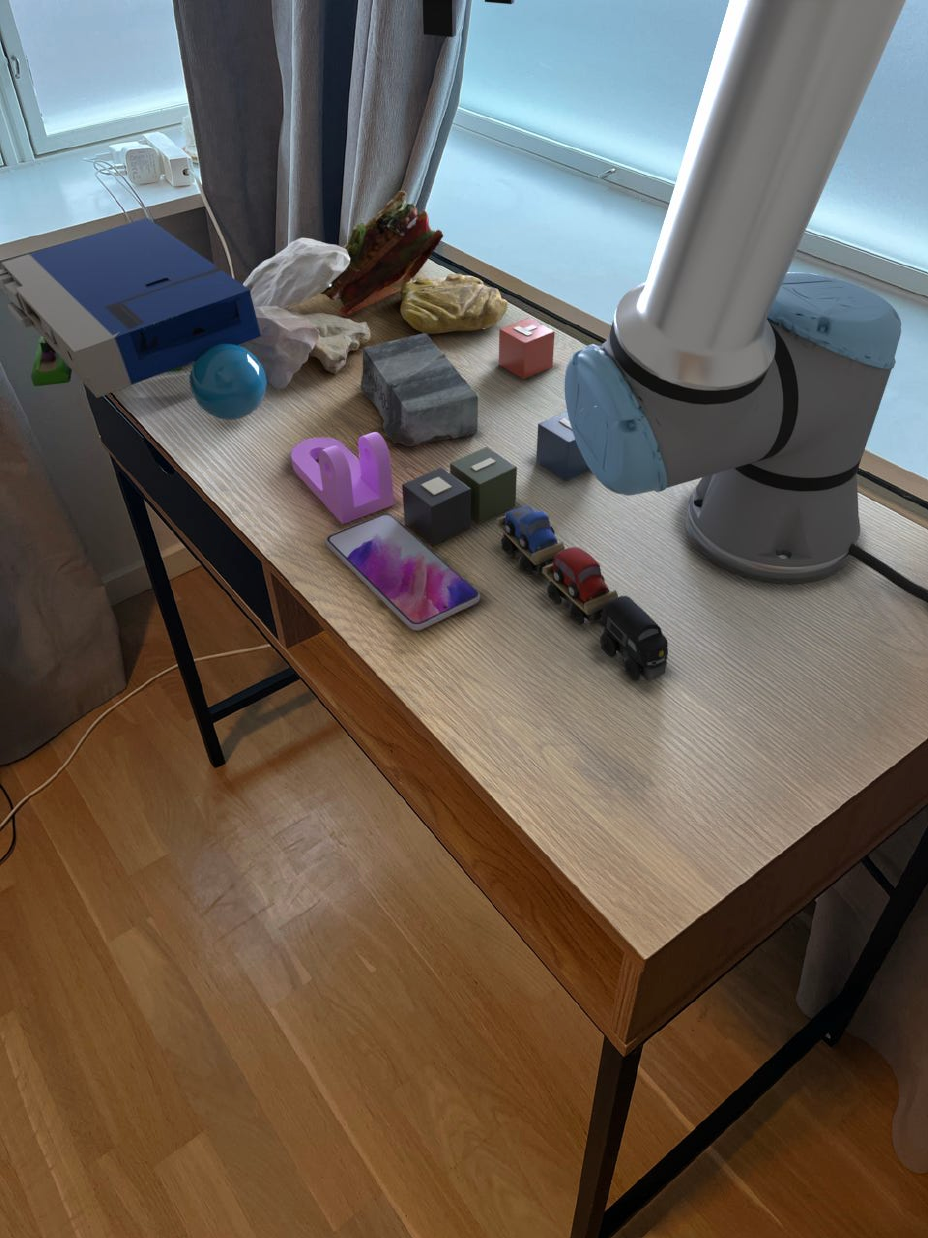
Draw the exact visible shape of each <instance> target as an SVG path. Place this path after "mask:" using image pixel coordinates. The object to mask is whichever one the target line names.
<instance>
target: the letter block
mask: <svg viewBox="0 0 928 1238" xmlns="http://www.w3.org/2000/svg"><path fill="white" fill-rule="evenodd" d="M498 329H499V330H498V333H499V334H498V365H499V366H501V367H502V368H504V369H506V370H508V371H509V372H511V373H513V375H516V376H518V377H519V378H521V379H522V380H525V379H527V378H529V377H532V376H534V375H537V374H539V373H542V372H545V371H547V370H549V369H551V368H553V366H554V365H553V364H554V349H555V334H556V333H555V331H554V330H553V329H551V328H550V327H547V326H545V325H544V324H542V323H540V322H538V321H536V320H535V319H533V318H531V317H527V318H524V319H521V320H519V321H515V322H513V323H511V324H508V325H505V326H503V327H500V328H498Z"/></svg>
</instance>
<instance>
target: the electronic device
mask: <svg viewBox="0 0 928 1238" xmlns="http://www.w3.org/2000/svg"><path fill="white" fill-rule="evenodd" d="M1 265H2V267H3V268H2V269H0V290H2V292H3V293H4V294H5V295H8V298H9V300H10V302H8V304H7V308H8V311H9V312H10V313H11V314H12V316H13V317H14V318H15V319H16V320H17V321H18V322H19V324H20V325H21V326H22V327H24V328H25V329H27V328H31V327H33V328H34V329H35V331H37V333H38V334H39V336H42V337H43V338H44V339H45V340H46V341H47V343H48V344H49V345H50V346H51V347H52V348H53V349H54V350H55V351H56V353H57V354H58V355H59V356H60V357H61V358H62V359H63V360H64V362H65V363H66V364H67V365H68V366H69V367H70V368H71V369H72V372H73V373H74V374H75V375H76V377H78V378H79V380H80V381H81V382H82V383H83V384H84V385H85V386H86V388H87V389H88V390H89V391H90V392H91V394H93V395H94V397H95V398H97V399H98V398H101V397H104V396H106V395H109V394H111V393H114V392H117V391H120V390H122V389H125V388H128V387H130V386H132V385H136V384H138V383H140V382H143V381H146V380H149V379H152V378H154V377H157V376H159V375H162V374H165V373H168V372H167V371H170V370H173V369H175V368H178V367H181V366H182V367H183V366H185V365H186V366H187V365H188V364H192V363H194V361H196V360H197V359H198V357H199V356H200V355H201V354H202V353H203V352H205V351H206V350H207V349H209V348H210V347H212V346H214V345H218V344H236V345H239V344H242V343H245V342H247V341H250V340H253V339H255V338H258V337H261V334H260V330H259V326H258V322H257V317H256V313H255V309H254V305H253V301H252V297H251V293H250V290H249V289H248V288H246V287H245V286H244V285H243V283H241V282H240V281H238V280H237V279H235V278H234V277H232V276H231V275H230V274H228V273H227V272H225V271H224V270H223V269H221V268H219V267H218V266H217V265H216V264H214V263H212V262H211V261H210V260H208V259H207V258H206V257H204V256H202V254H199V253H198V252H196V250H194V249H193V248H191V247H190V246H188V245H187V244H185V243H184V242H183V241H181V240H180V239H179V238H177V237H175V236H174V235H173V234H171V233H170V232H169V231H167V230H165V228H163V227H162V226H160V225H158V224H157V223H156V222H154V221H152V219H150V218H149V217H145V218H142V219H138V220H135V221H131V222H128V223H126V224H123V225H119V226H116V227H113V228H109V229H106V230H102V231H99V232H96V233H93V234H90V235H87V236H83V237H80V238H77V239H74V240H71V241H67V242H64V243H60V244H58V245H53V246H50V247H47V248H45V249H41V250H37V251H35V252H31V253H28V254H25V255H21V256H18V257H15V258H12V259H9V260H5V261H2V262H1Z"/></svg>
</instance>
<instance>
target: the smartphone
mask: <svg viewBox="0 0 928 1238" xmlns="http://www.w3.org/2000/svg"><path fill="white" fill-rule="evenodd" d="M325 545H326V547H327V548H328V549H329V550H330V551H331V552H332V553H333V554H334V555H335V556H336V557H337V558H338V559H339V560H340V561H341V562H342V563H343V564H344V565H345V566H346V567H347V568H348V569H349V570H350V571H351V572H353V574H355V576H356V577H357V578H358V579H359V580H360V581H361V582H362V583H363V584H364V585H365V586H366V587H368V588H369V589H370V591H372V593H373V594H374V595H375V596H376V597H377V598H379V599H380V600H381V601H382V602H383V603H384V605H386V607H387V608H389V610H390V611H392V613H394V614H395V615H396V616H397V617H398V619H400V620H401V621H402V623H404V624H405V625H406V626H407V627H408V628H409V629H410V630H412V631H417V632H418V631H422V630H424V629H426V628H428V627H430V626H432V625H435V624H436V623H438V622H440V621H443V620H444V619H447V618H449V617H451V616H453V615H455V614H458V613H459V612H461V611H464V610H465V609H468V608H470V607H472V606H475V605H476V604H478V603H479V601H480V600H481V594H480V591H478V590H477V589H476V588H475V587H474V586H473V585H472V584H471V583H469V581H467V580H466V579H465V578H464V577H463V576H462V575H460V574H459V572H457V571H456V570H455V569H454V568H453V567H451V565H449V563H447V562H446V561H445V560H444V559H443V558H442V557H440V556H439V555H438V554H436V552H435V551H433V550H432V549H431V548H430V547H429V546H428V545H427V544H426V543H424V542H423V541H422V540H421V539H420V538H419V537H418V536H416V535H415V533H413V532H412V531H411V529H408V527H406V526H405V524H404V523H403V524H402V522H401V521H399V520H398V519H397V518H396V517H395V516H394V515H392V514H391V513H388V512H384V513H381V514H378V515H375V516H372V517H371V518H368V519H366V520H363V521H361V522H358V523H356V524H354V525H351V526H348V527H346V528H344V529H341V530H338V531H336V532H333V533H331V534H329V535H328V536H327V537H326V538H325Z"/></svg>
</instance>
